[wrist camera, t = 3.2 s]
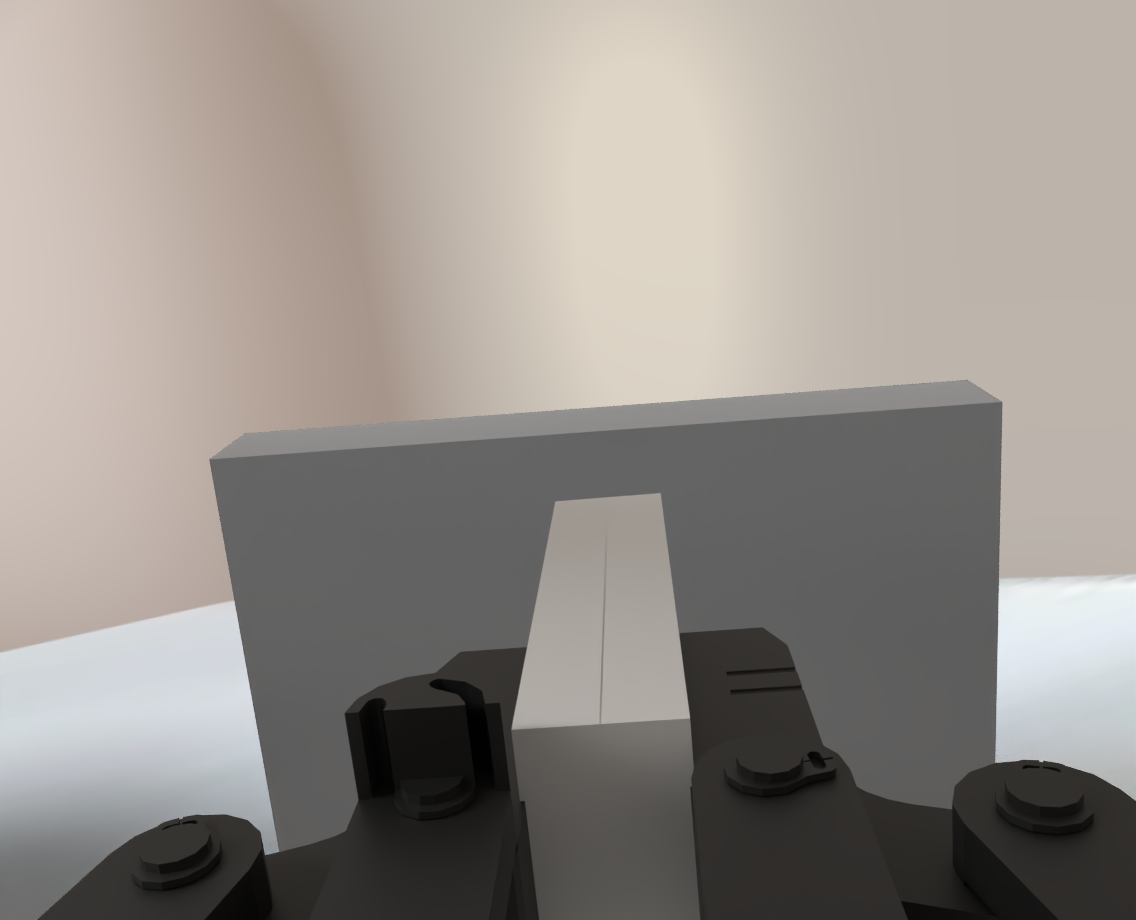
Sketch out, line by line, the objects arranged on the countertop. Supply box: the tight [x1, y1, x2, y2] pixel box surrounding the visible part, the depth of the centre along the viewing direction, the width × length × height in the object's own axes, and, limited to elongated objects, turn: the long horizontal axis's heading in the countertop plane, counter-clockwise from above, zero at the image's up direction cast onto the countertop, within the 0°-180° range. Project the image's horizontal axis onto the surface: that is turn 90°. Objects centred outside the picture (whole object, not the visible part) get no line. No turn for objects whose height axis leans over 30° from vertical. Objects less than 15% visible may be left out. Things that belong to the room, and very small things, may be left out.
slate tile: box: [209, 380, 1002, 852], centre depth 25 cm, size 16×2×14 cm, turn 87°
